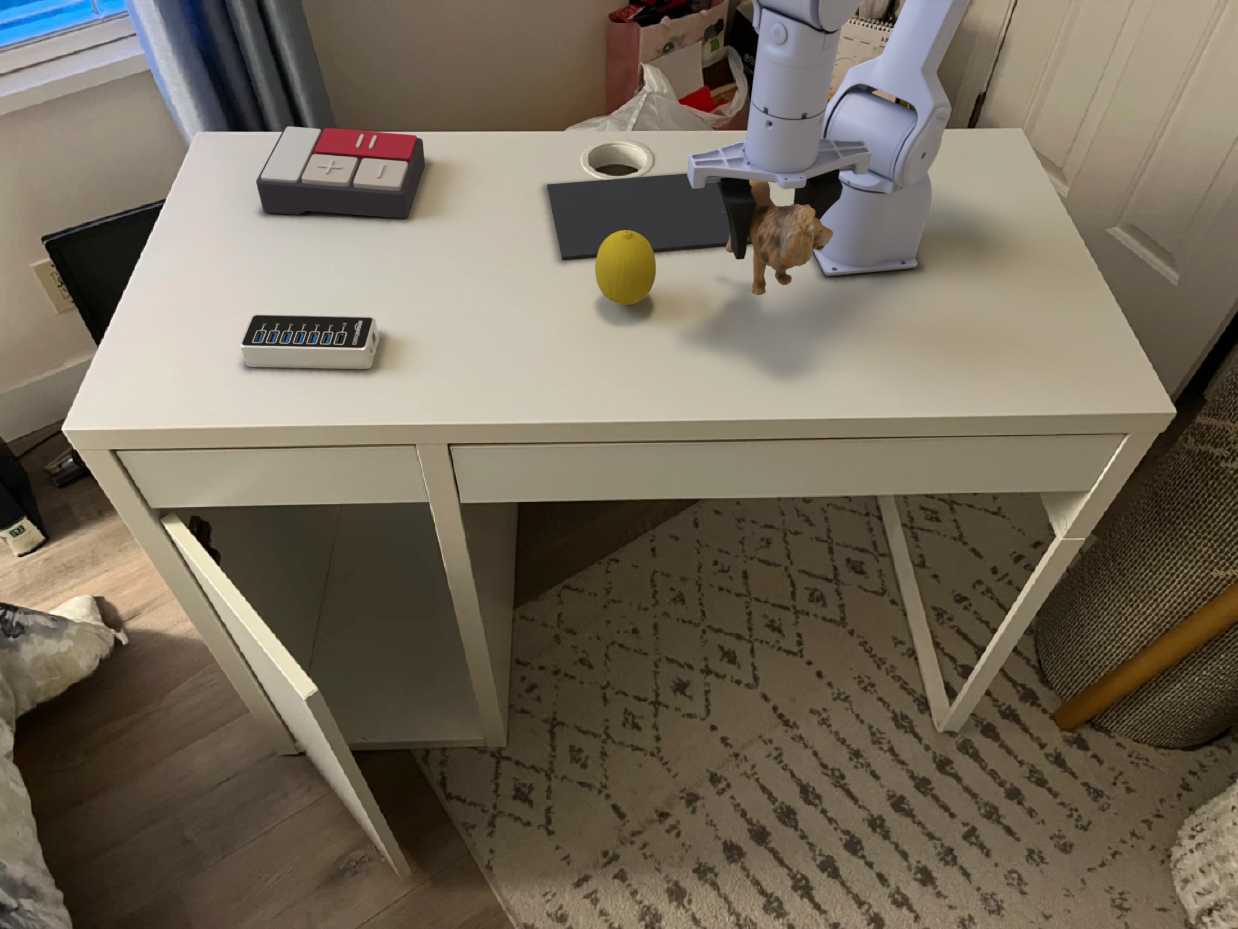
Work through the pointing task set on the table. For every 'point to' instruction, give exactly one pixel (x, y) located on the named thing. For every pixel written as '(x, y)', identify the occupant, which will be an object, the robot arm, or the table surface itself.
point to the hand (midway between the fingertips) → (765, 249)
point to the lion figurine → (781, 236)
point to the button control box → (341, 172)
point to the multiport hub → (310, 341)
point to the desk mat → (638, 213)
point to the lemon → (625, 267)
